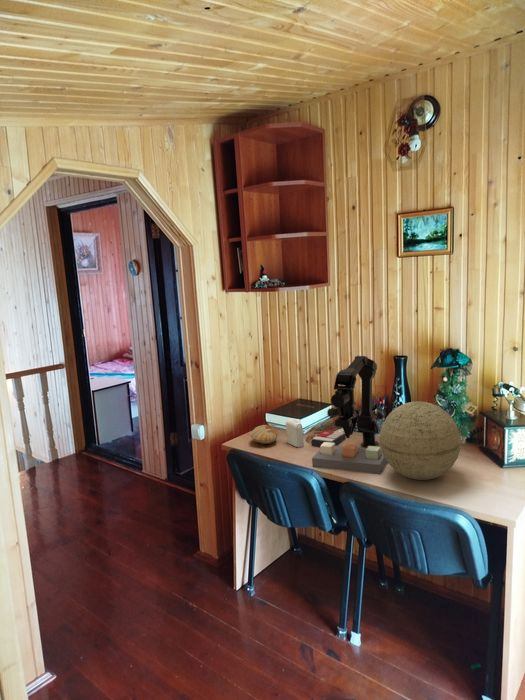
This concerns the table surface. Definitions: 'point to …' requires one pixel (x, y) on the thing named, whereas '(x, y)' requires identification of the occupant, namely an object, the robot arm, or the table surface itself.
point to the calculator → (328, 438)
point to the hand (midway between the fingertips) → (349, 436)
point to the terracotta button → (350, 450)
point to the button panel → (349, 461)
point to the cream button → (327, 448)
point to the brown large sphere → (420, 440)
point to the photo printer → (294, 433)
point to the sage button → (373, 452)
